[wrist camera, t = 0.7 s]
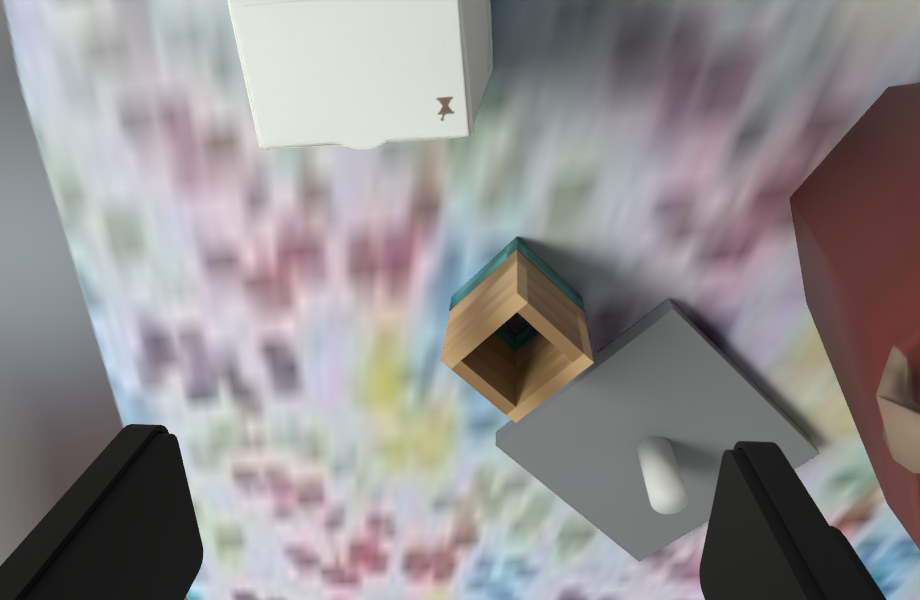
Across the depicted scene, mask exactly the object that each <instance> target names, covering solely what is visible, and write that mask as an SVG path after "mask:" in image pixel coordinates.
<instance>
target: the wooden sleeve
mask: <svg viewBox="0 0 920 600" xmlns="http://www.w3.org/2000/svg"><path fill="white" fill-rule="evenodd" d="M449 311H450V315H449V320H448V325H447V331H446V336H445V341H444V346H443V351H442V356H441V361H442V362H443V363H444V364H446V365H447V366H448V367H449V368H450V369H452V370H453V371H454V372H455V373H456V374H458V375H459V376H460V377H461V378H462V379H464V380H465V381H466V382H467V383H468V384H470V385H471V386H472V387H473V388H474V389H476V390H477V391H478V392H479V393H480V394H482V395H483V396H484V397H485V398H486V399H488V400H489V401H490V402H491V403H492V404H494V405H495V406H496V407H497V408H498V409H500V410H501V411H502V412H503V413H504V414H506V415H507V416H508V417H509V418H510V419H512V420H513V421H514V422H515V423H517V422H518V421H519V420H520V419H522V418H523V417H524V416H526V415H527V414H528V413H529V412H531V411H532V410H533V409H535V408H536V407H537V406H539V405H540V404H541V403H542V402H544V401H545V400H546V399H548V398H549V397H550V396H551V395H553V394H554V393H555V392H557V391H558V390H559V389H561V388H562V387H563V386H564V385H566V384H567V383H568V382H570V381H571V380H572V379H573V378H575V377H576V376H577V375H579V374H580V373H581V372H583V371H584V370H585V369H586V368H588V367H589V366H590V365H592V364H593V363H594V361H593V356H592V351H591V346H590V341H589V336H588V331H587V326H586V321H585V316H584V312H585V311H584V306H583V301H582V297H581V296H580V295H578V294H577V293H576V292H575V291H574V290H573V289H572V288H571V287H570V286H569V285H568V284H567V283H566V282H565V281H564V280H563V279H561V278H560V277H559V276H558V275H557V274H556V273H555V272H554V271H553V270H552V269H551V268H550V267H549V266H548V265H547V264H546V263H544V262H543V261H542V260H541V259H540V258H539V257H538V256H537V255H536V254H535V253H534V252H533V251H532V250H531V249H530V248H529V247H527V246H526V245H525V244H524V243H523V242H522V241H521V240H520V239H519V238H518V237H516V238H515V239H514V240H513V241H512V242H511V243H510V244H508V245H507V246H506V247H505V248H504V249H503V250H502V251H501V252H500V253H499V254H498V255H497V256H496V257H494V258H493V259H492V260H491V261H490V262H489V263H488V264H487V265H486V266H485V267H484V268H483V269H481V270H480V271H479V272H478V273H477V274H476V275H475V276H474V277H473V278H472V279H471V280H470V281H469V282H467V283H466V284H465V285H464V286H463V287H462V288H461V289H460V290H459V291H458V292H457V293H456V294H454V295H453V296H452V300H451V305H450V310H449ZM515 313H519V314H520V315H521V316H522V317H523V318H524V319H525V320H526V321H527V322H529V323H530V325H529V326H528V327H527V328H526V329H524V330H523V331H522V332H521V333H520V334H519V335H517V336H515V335H514V334H512V333H511V332H510V331H509V330H508V329H507V328H506V327H505V326H503V324H504V323H505V322H506V321H507V320H508V319H510V318H511V317H512V316H513V315H514V314H515Z"/></svg>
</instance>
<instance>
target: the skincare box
mask: <svg viewBox="0 0 920 600" xmlns="http://www.w3.org/2000/svg"><path fill="white" fill-rule="evenodd" d="M228 5H229V10H230V14H231V19H232V23H233V28H234V33H235V37H236V42H237V47H238V51H239V56H240V61H241V65H242V70H243V74H244V79H245V83H246V88H247V92H248V97H249V101H250V106H251V110H252V115H253V119H254V124H255V128H256V133H257V137H258V142H259V146H260V148H261V149H262V150H268V149H278V148H305V147H328V146H345V147H348V148H353V149H371V148H375V147H378V146H380V145H382V144H384V143H392V142H408V141H424V140H439V139H452V138H461V137H467V136H469V135H471V134H473V133H474V122H475V118H476V115H477V113H478V110H479V107H480V104H481V101H482V98H483V95H484V93H485V90H486V87H487V84H488V81H489V78H490V76H491V73H492V71H493V42H492V18H491V2H490V0H228Z"/></svg>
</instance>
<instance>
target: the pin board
mask: <svg viewBox="0 0 920 600" xmlns="http://www.w3.org/2000/svg"><path fill="white" fill-rule="evenodd" d="M593 361H594V363H593V364H592V365H590V366H589V367H588V368H586V369H585V370H584V371H583V372H581V373H580V374H579V375H577V376H576V377H575V378H573V379H572V380H571V381H570V382H568V383H567V384H566V385H564V386H563V387H562V388H561V389H559V390H558V391H557V392H555V393H554V394H553V395H551V396H550V397H549V398H548V399H546V400H545V401H544V402H542V403H541V404H540V405H539V406H537V407H536V408H535V409H533V410H532V411H531V412H529V413H528V414H527V415H526V416H524V417H523V418H522V419H520V420H519V421H518V422H517V423H515V422H514V421H513V420H511V421H510V422H509V423H507V424H506V425H505V426H503V427H502V428H501V429H500V430H498V431H497V432H496V446H497V447H498V448H500V449H501V450H502V451H503V452H505V453H506V454H507V455H508V456H509V457H511V458H512V459H513V460H514V461H516V462H517V463H518V464H519V465H521V466H522V467H523V468H524V469H526V470H527V471H528V472H529V473H530V474H532V475H533V476H534V477H535V478H537V479H538V480H539V481H540V482H542V483H543V484H544V485H545V486H547V487H548V488H549V489H550V490H551V491H553V492H554V493H555V494H556V495H558V496H559V497H560V498H561V499H563V500H564V501H565V502H566V503H567V504H569V505H570V506H571V507H572V508H574V509H575V510H576V511H577V512H579V513H580V514H581V515H582V516H584V517H585V518H586V519H587V520H588V521H590V522H591V523H592V524H593V525H595V526H596V527H597V528H598V529H600V530H601V531H602V532H603V533H605V534H606V535H607V536H608V537H609V538H611V539H612V540H613V541H614V542H616V543H617V544H618V545H619V546H621V547H622V548H623V549H624V550H625V551H627V552H628V553H629V554H630V555H632V556H633V557H634V558H635V559H637V560H638V561H641V560H643V559H644V558H646V557H648V556H649V555H651V554H653V553H655V552H656V551H658V550H660V549H661V548H663V547H665V546H666V545H668V544H670V543H671V542H673V541H675V540H676V539H678V538H680V537H681V536H683V535H685V534H686V533H688V532H690V531H691V530H693V529H695V528H696V527H698V526H700V525H701V524H703V523H705V522H706V521H708V520H709V519H710V515H711V510H712V505H713V500H714V495H715V490H716V485H717V480H718V475H719V470H720V466H721V461H722V456H723V453H724V451H725V450H733V449H734V446H735V444H736V443H737V442H739V441H757V442H774V443H776V444H777V445H778V446H779V447H780V449H781V450H782V452H783V454H784V455H785V457H786V458H787V460H788V461H789V463H790V465H791V466H792V468H793V469H795V468H797V467H798V466H800V465H802V464H803V463H805V462H807V461H808V460H810V459H812V458H814V457H815V456H817V455H819V454H820V453H819V452H818V450H817V449H816V447H815V445H814V444H813V442H812V441H811V439H810V438H809V437H808V436H807V435H806V434H805V433H804V432H803V431H802V430H801V429H800V428H799V427H798V426H797V425H796V424H795V423H794V422H792V421H791V420H790V419H789V418H788V417H787V416H786V415H785V414H784V413H783V412H782V411H781V410H780V409H779V408H778V407H777V406H776V405H775V404H774V403H773V402H772V401H771V400H770V399H769V398H768V397H767V396H766V395H765V394H764V393H763V392H762V391H761V390H760V389H759V388H758V387H757V386H756V385H755V384H754V383H753V382H752V381H751V380H750V379H749V378H748V377H747V376H746V375H745V374H744V373H743V372H742V371H741V370H740V369H739V368H738V367H737V366H736V365H735V364H734V363H733V362H732V361H731V360H730V359H729V358H728V357H727V356H726V355H725V354H724V353H723V352H722V351H721V350H720V349H719V348H718V347H717V346H716V345H715V344H714V343H713V342H712V341H711V340H710V339H709V338H708V337H707V336H706V335H705V334H704V333H703V332H702V331H701V330H700V329H699V328H698V327H697V326H696V325H695V324H694V323H693V322H692V321H691V320H690V319H689V318H688V317H687V316H686V315H685V314H684V313H683V312H682V311H681V310H680V309H679V308H678V307H677V306H676V305H675V304H674V303H673V302H672V301H671V300H669V299H667V300H665V301H664V302H663V303H661V304H660V305H659V306H658V307H656V308H655V309H654V310H652V311H651V312H650V313H649V314H647V315H646V316H645V317H643V318H642V319H641V320H640V321H638V322H637V323H636V324H634V325H633V326H632V327H631V328H629V329H628V330H627V331H625V332H624V333H623V334H622V335H620V336H619V337H618V338H616V339H615V340H614V341H613V342H611V343H610V344H609V345H607V346H606V347H605V348H604V349H602V350H601V351H600V352H599V353H597V354H596V355H595V356H593Z"/></svg>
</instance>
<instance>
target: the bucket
mask: <svg viewBox="0 0 920 600" xmlns="http://www.w3.org/2000/svg"><path fill="white" fill-rule="evenodd" d="M790 205H791V211H792V217H793V223H794V229H795V235H796V241H797V247H798V253H799V259H800V265H801V271H802V278H803V284H804V290H805V296H806V302H807V305H808V308H809V310H810V313H811V315H812V318H813V320H814V323H815V325H816V328H817V330H818V333H819V335H820V338H821V340H822V342H823V345H824V347H825V350H826V352H827V355H828V357H829V360H830V362H831V365H832V367H833V370H834V372H835V375H836V377H837V380H838V382H839V385H840V387H841V390H842V392H843V395H844V397H845V400H846V402H847V405H848V407H849V410H850V412H851V414H852V417H853V419H854V422H855V424H856V427H857V429H858V432H859V434H860V437H861V439H862V442H863V444H864V447H865V449H866V452H867V454H868V457H869V459H870V462H871V464H872V467H873V469H874V472H875V474H876V477H877V479H878V482H879V484H880V487H881V489H882V491H883V494H884V496H885V499H886V501H887V504H888V505H889V507H890V508H891V510H892V511H893V512H894V514H895V515H896V517H897V518H898V520H899V521H900V522H901V524H902V525H903V527H904V528H905V530H906V531H907V532H908V534H909V535H910V537H911V538H912V539H913V541H914V542H915V544H916V545H917V547H918V548H919V549H920V83H918V84H910V85H902V86H894V87H888V88H887V89H886V90H885V91H884V92H883V94H882V95H881V96H880V97H879V98H878V99H877V100H876V101H875V103H874V104H873V105H872V106H871V107H870V108H869V109H868V110H867V112H866V113H865V114H864V115H863V116H862V117H861V118H860V119H859V121H858V122H857V123H856V124H855V125H854V126H853V127H852V128H851V130H850V131H849V132H848V133H847V134H846V135H845V136H844V137H843V139H842V140H841V141H840V142H839V143H838V144H837V145H836V146H835V148H834V149H833V150H832V151H831V152H830V153H829V154H828V155H827V157H826V158H825V159H824V160H823V161H822V162H821V163H820V164H819V166H818V167H817V168H816V169H815V170H814V171H813V172H812V173H811V175H810V176H809V177H808V178H807V179H806V180H805V181H804V182H803V184H802V185H801V186H800V187H799V188H798V189H797V190H796V191H795V193H794V194H793V195H792V196H791V197H790Z"/></svg>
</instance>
